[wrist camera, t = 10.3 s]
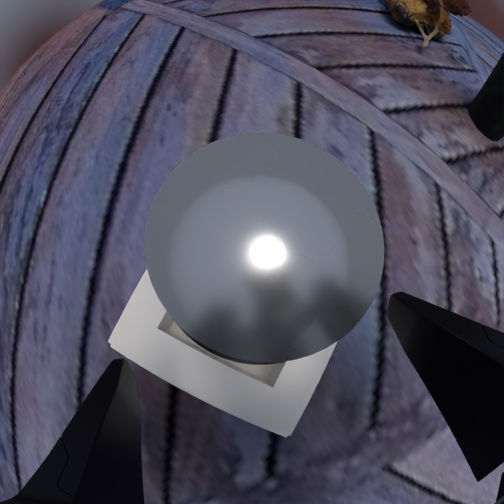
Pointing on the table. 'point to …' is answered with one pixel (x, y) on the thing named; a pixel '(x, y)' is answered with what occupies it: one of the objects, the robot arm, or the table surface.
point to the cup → (490, 104)
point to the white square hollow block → (215, 367)
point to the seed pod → (428, 15)
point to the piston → (263, 248)
